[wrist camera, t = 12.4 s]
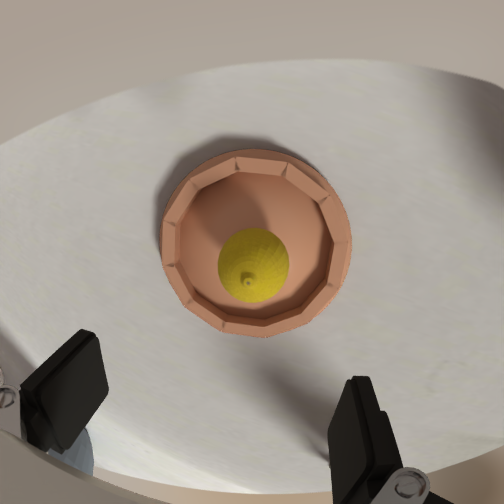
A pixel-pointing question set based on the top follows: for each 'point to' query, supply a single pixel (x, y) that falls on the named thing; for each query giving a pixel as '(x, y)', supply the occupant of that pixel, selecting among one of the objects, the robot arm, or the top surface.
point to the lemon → (253, 265)
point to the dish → (255, 216)
